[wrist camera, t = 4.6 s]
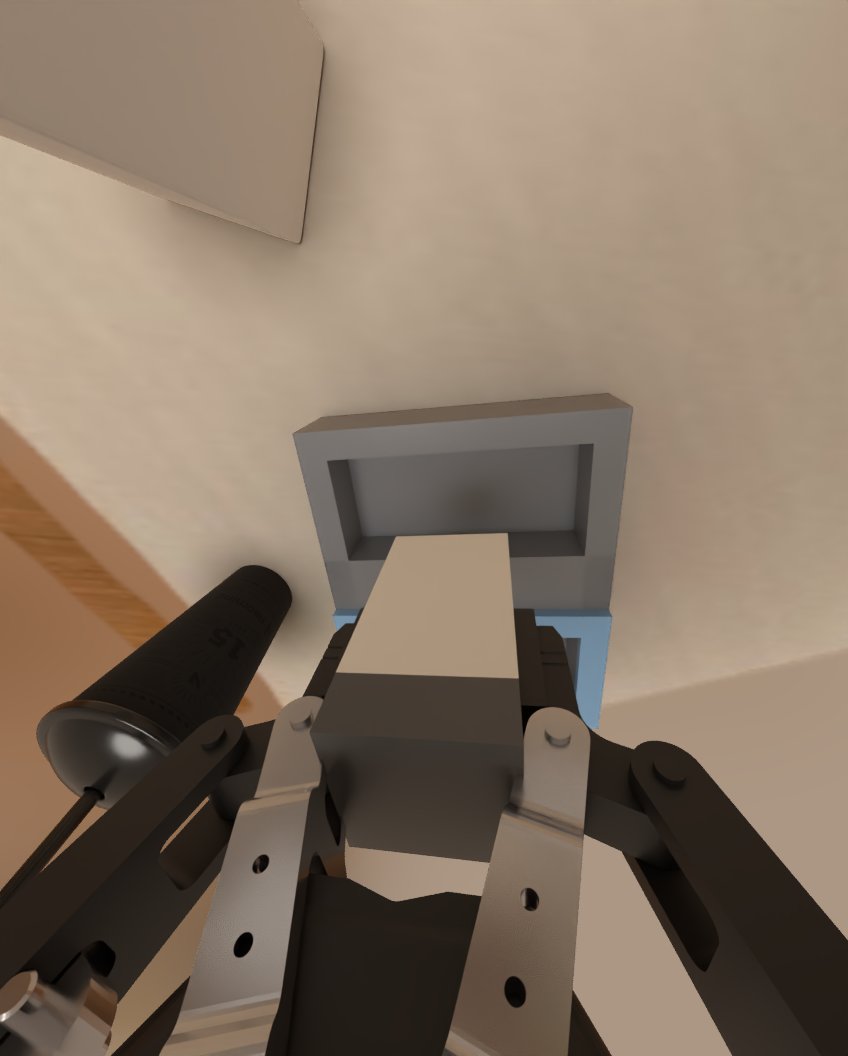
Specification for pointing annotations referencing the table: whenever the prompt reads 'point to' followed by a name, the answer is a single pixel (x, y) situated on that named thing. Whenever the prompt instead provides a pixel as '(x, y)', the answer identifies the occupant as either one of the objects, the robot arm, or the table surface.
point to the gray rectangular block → (428, 702)
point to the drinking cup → (156, 700)
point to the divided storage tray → (482, 504)
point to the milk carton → (171, 98)
